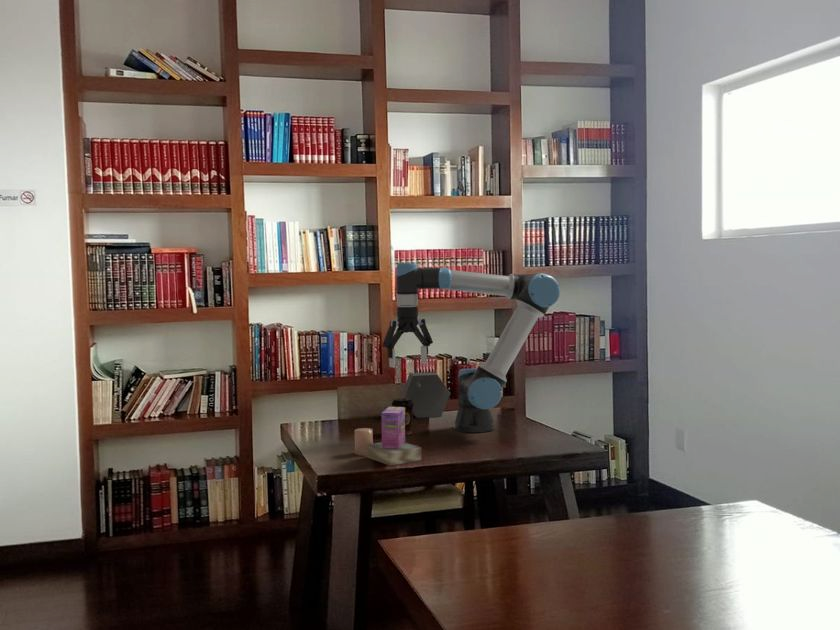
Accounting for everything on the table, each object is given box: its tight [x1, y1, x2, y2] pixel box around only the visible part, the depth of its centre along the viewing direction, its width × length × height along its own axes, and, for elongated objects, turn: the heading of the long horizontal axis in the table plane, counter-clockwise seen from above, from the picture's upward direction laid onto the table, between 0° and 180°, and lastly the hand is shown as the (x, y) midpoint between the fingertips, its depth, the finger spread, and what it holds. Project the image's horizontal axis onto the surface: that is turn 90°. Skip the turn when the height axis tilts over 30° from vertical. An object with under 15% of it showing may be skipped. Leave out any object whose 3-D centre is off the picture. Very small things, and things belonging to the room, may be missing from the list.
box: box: [381, 406, 406, 449], centre depth 267 cm, size 10×6×12 cm, turn 169°
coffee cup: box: [390, 397, 414, 435], centre depth 306 cm, size 9×8×13 cm
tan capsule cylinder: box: [354, 427, 374, 457], centre depth 275 cm, size 6×6×8 cm
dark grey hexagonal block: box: [400, 371, 451, 419], centre depth 340 cm, size 17×8×21 cm
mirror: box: [366, 441, 422, 466], centre depth 268 cm, size 12×14×4 cm
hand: (408, 365), depth 294 cm, fingers open, 13 cm apart
